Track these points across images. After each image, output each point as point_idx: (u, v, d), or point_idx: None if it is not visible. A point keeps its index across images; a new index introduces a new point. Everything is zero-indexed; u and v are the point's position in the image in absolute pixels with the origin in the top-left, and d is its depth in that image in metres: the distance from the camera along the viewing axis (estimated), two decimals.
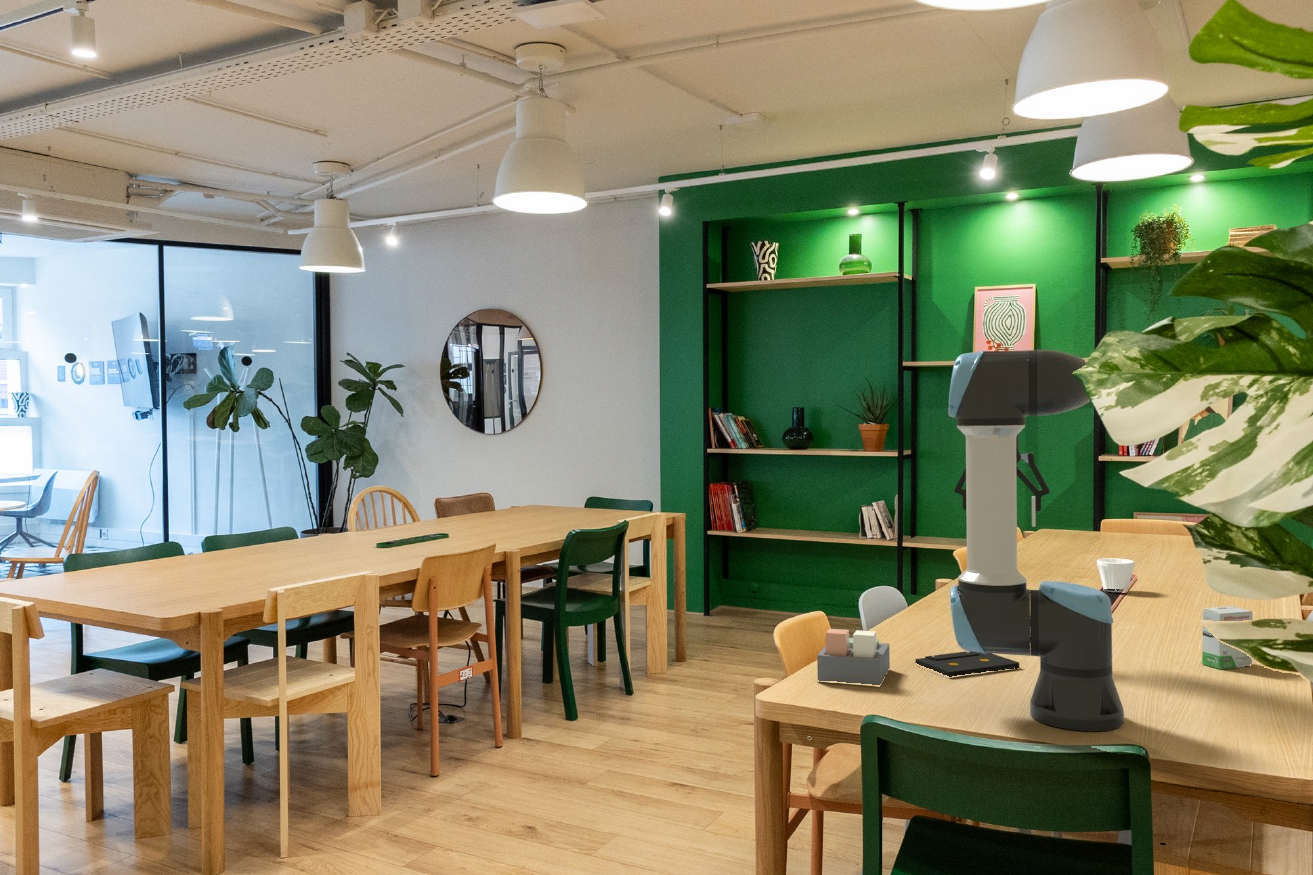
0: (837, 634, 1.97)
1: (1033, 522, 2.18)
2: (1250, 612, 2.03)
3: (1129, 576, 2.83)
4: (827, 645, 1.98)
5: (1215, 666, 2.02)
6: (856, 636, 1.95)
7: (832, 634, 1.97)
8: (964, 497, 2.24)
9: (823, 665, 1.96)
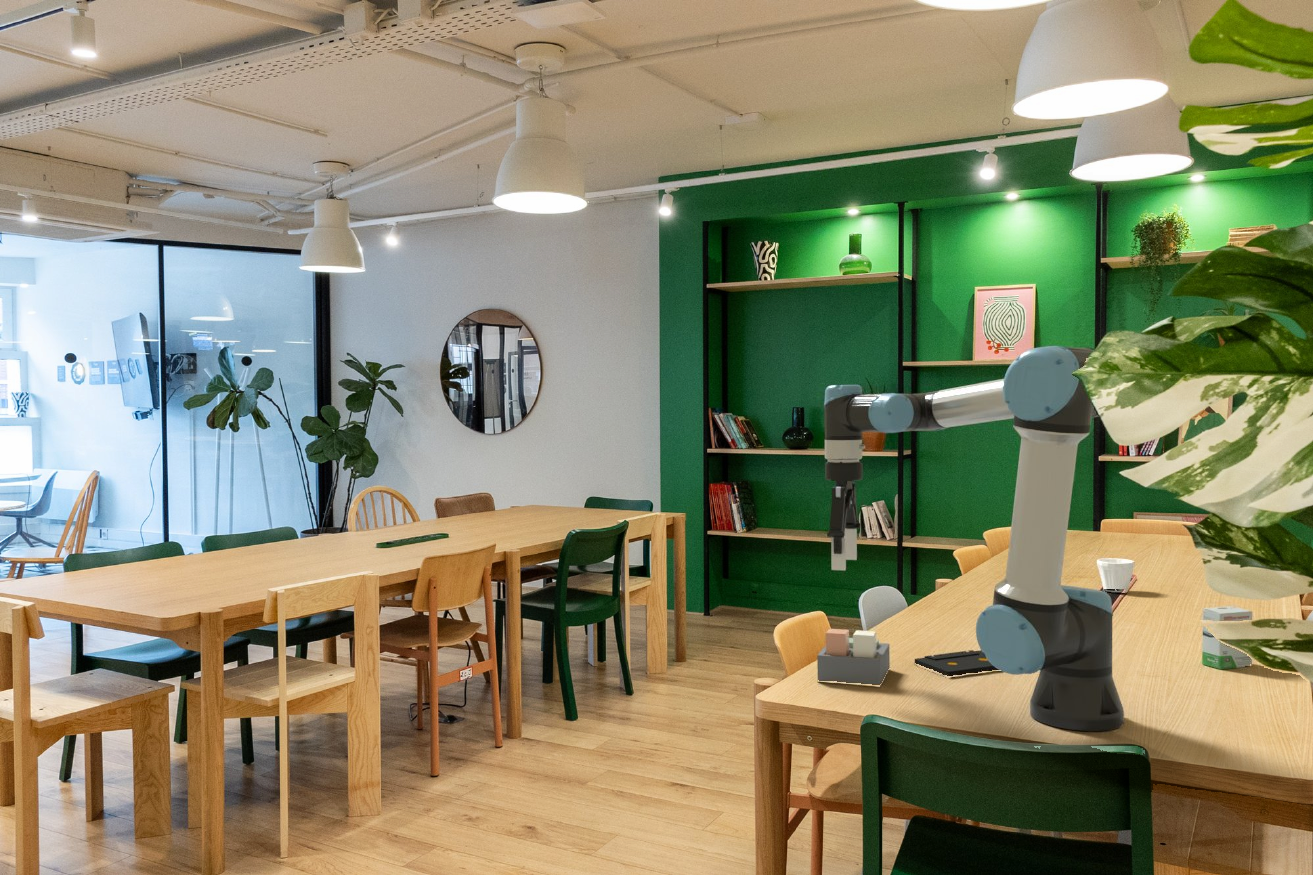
0: (837, 634, 1.97)
1: None
2: (1250, 612, 2.03)
3: (1129, 576, 2.83)
4: (827, 645, 1.98)
5: (1215, 666, 2.02)
6: (856, 636, 1.95)
7: (832, 634, 1.97)
8: None
9: (823, 665, 1.96)
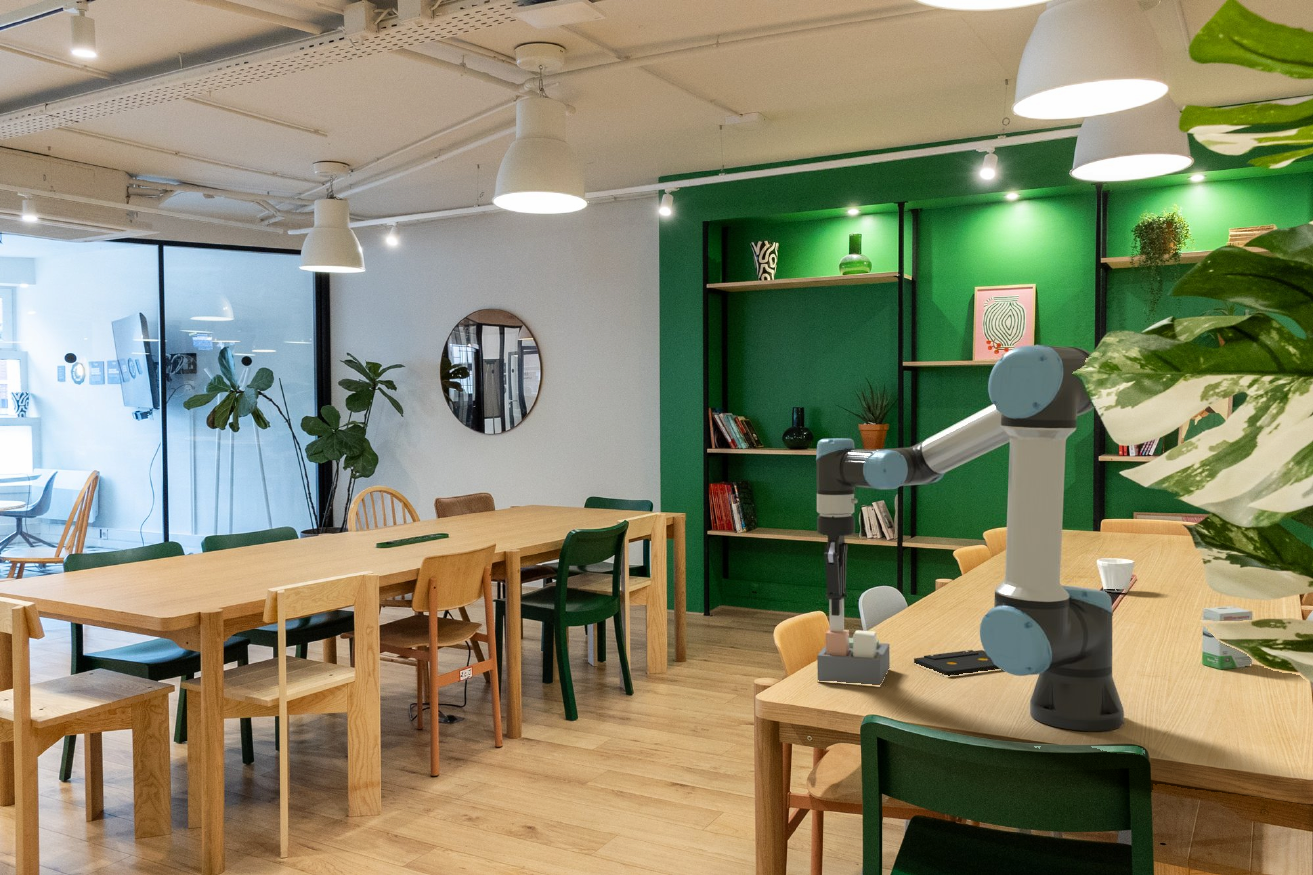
0: (837, 634, 1.97)
1: None
2: (1250, 612, 2.03)
3: (1129, 576, 2.83)
4: (827, 645, 1.98)
5: (1215, 666, 2.02)
6: (856, 636, 1.95)
7: (832, 634, 1.97)
8: None
9: (823, 665, 1.96)
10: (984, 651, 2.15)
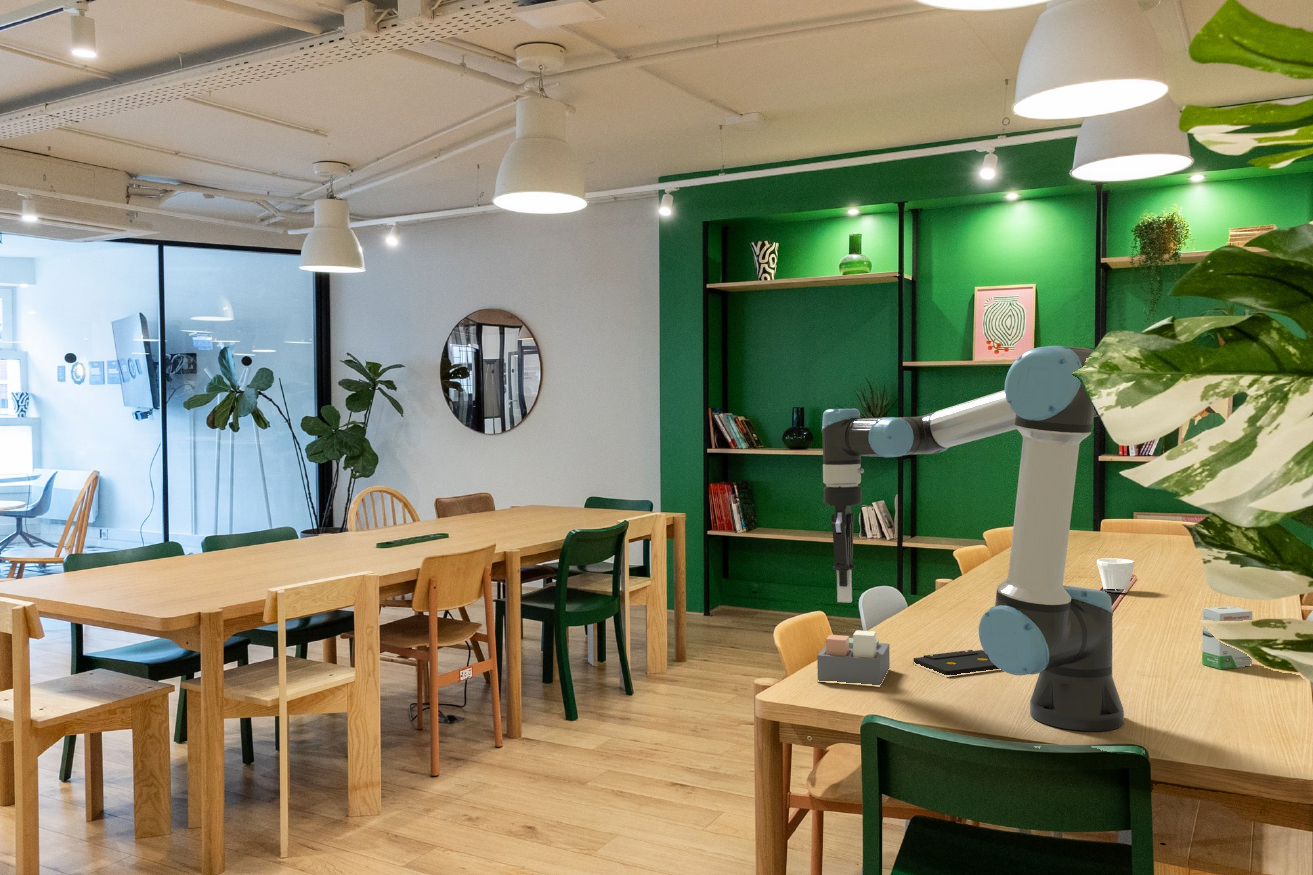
0: (837, 640, 1.97)
1: None
2: (1250, 612, 2.03)
3: (1129, 576, 2.83)
4: (827, 651, 1.98)
5: (1215, 666, 2.02)
6: (856, 636, 1.95)
7: (832, 640, 1.97)
8: None
9: (823, 665, 1.96)
10: None
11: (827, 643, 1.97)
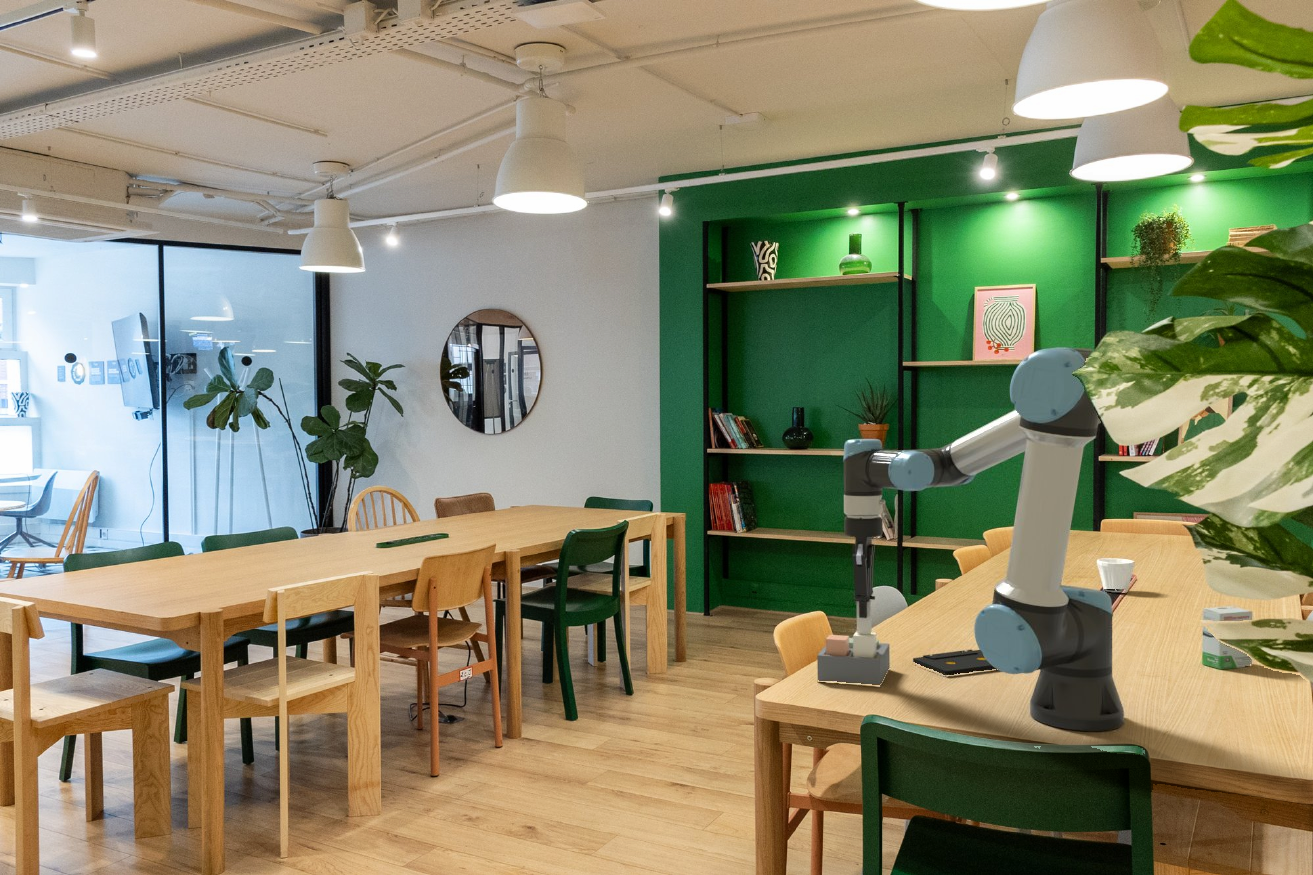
0: (837, 640, 1.97)
1: None
2: (1250, 612, 2.03)
3: (1129, 576, 2.83)
4: (827, 651, 1.98)
5: (1215, 666, 2.02)
6: (856, 637, 1.95)
7: (832, 640, 1.97)
8: None
9: (823, 665, 1.96)
10: None
11: (827, 643, 1.97)
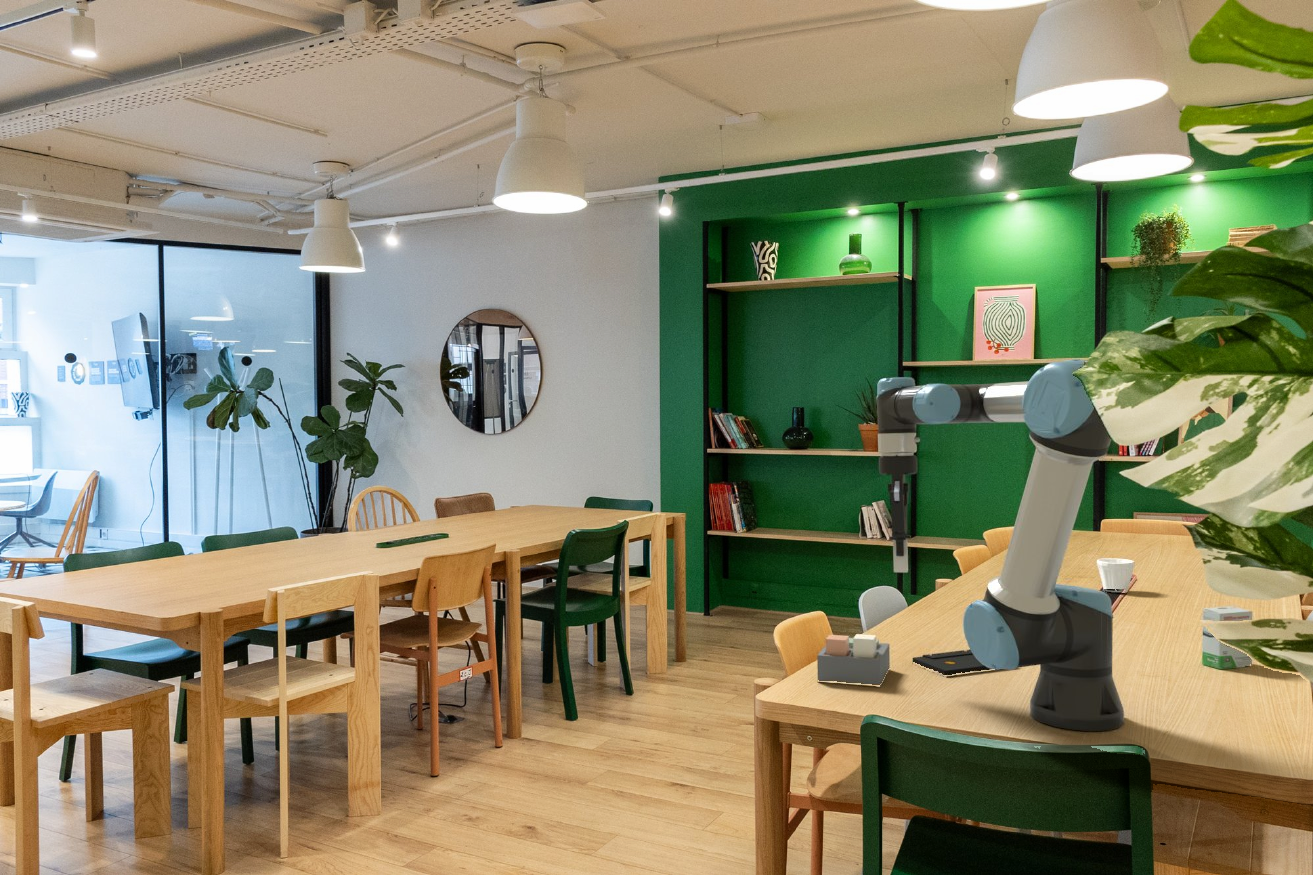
0: (837, 640, 1.97)
1: None
2: (1250, 612, 2.03)
3: (1129, 576, 2.83)
4: (827, 651, 1.98)
5: (1215, 666, 2.02)
6: (856, 640, 1.95)
7: (832, 640, 1.97)
8: None
9: (823, 665, 1.96)
10: None
11: (827, 643, 1.97)
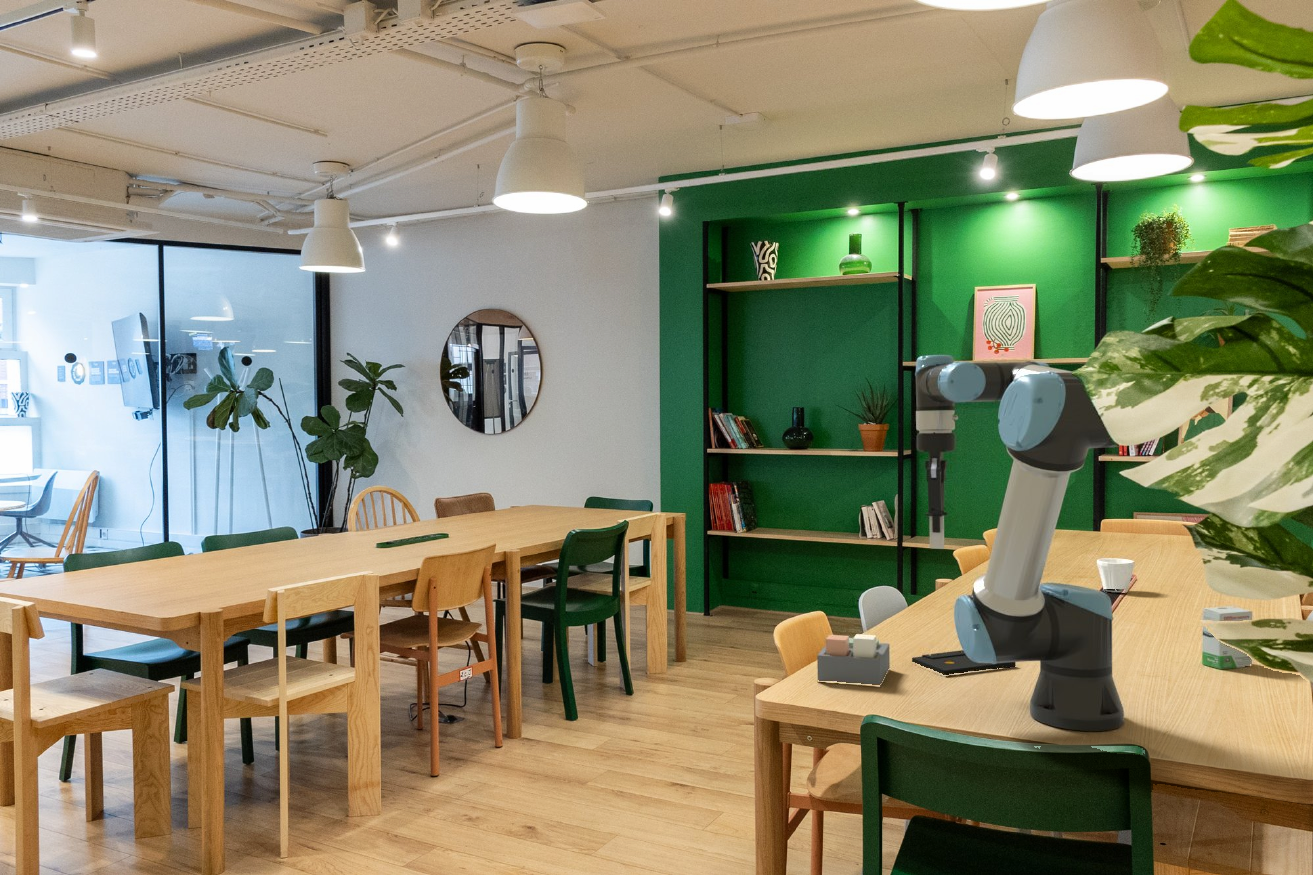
0: (837, 640, 1.97)
1: None
2: (1250, 612, 2.03)
3: (1129, 576, 2.83)
4: (827, 651, 1.98)
5: (1215, 666, 2.02)
6: (856, 640, 1.95)
7: (832, 640, 1.97)
8: None
9: (823, 665, 1.96)
10: None
11: (827, 643, 1.97)
